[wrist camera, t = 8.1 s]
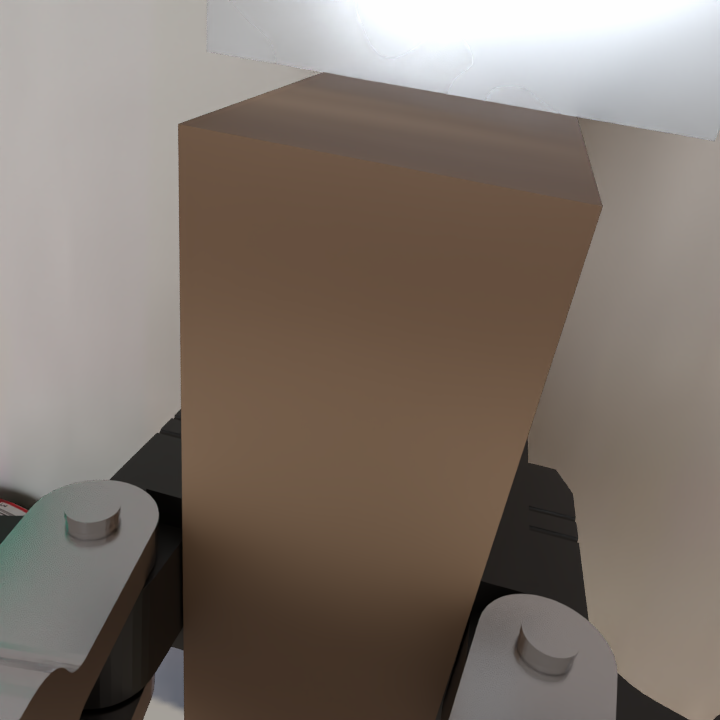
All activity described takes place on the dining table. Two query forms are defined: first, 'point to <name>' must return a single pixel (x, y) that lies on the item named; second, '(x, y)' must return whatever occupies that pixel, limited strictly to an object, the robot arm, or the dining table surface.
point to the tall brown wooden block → (386, 320)
